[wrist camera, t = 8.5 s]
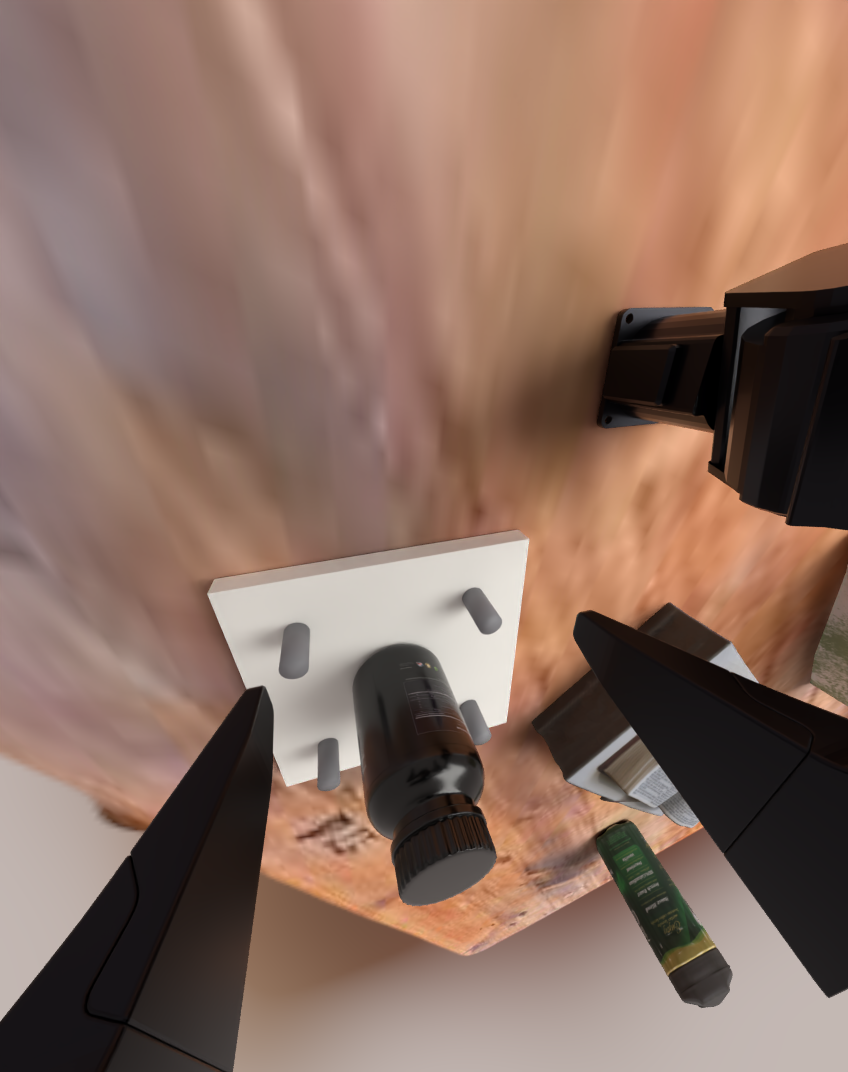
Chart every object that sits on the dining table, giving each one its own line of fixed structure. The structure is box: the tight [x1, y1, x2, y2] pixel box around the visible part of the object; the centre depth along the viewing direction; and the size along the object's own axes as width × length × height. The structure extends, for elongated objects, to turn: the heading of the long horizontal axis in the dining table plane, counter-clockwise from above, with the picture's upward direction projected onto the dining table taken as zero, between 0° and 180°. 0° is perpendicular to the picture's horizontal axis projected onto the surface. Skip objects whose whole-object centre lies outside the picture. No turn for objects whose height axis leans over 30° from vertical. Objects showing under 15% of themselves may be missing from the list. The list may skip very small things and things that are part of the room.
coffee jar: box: [596, 821, 732, 1008], centre depth 52 cm, size 10×8×19 cm
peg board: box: [207, 530, 529, 791], centre depth 25 cm, size 20×20×4 cm
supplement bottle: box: [352, 644, 497, 906], centre depth 21 cm, size 7×7×12 cm
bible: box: [532, 603, 759, 828], centre depth 37 cm, size 23×27×10 cm
